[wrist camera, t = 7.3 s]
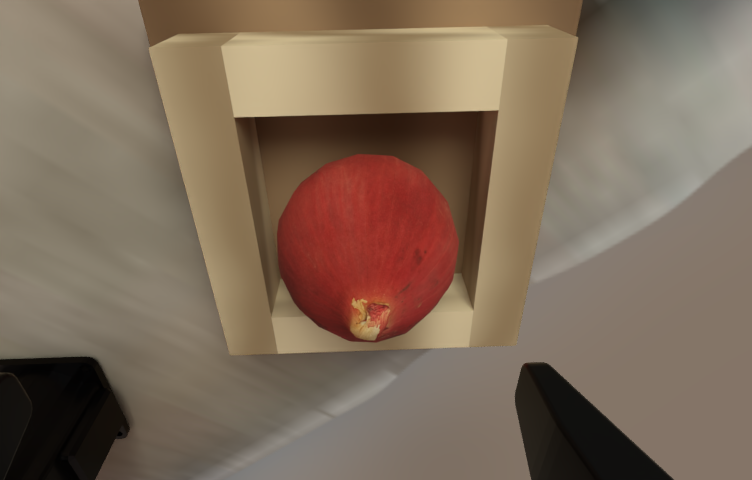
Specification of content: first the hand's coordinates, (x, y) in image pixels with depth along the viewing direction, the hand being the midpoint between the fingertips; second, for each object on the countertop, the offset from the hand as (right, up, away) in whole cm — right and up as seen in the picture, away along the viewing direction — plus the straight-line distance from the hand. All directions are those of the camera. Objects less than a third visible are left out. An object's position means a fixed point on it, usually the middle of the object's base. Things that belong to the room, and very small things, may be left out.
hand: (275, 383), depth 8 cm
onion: (+1, +4, +10) cm, 11 cm away
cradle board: (+1, +5, +11) cm, 12 cm away
